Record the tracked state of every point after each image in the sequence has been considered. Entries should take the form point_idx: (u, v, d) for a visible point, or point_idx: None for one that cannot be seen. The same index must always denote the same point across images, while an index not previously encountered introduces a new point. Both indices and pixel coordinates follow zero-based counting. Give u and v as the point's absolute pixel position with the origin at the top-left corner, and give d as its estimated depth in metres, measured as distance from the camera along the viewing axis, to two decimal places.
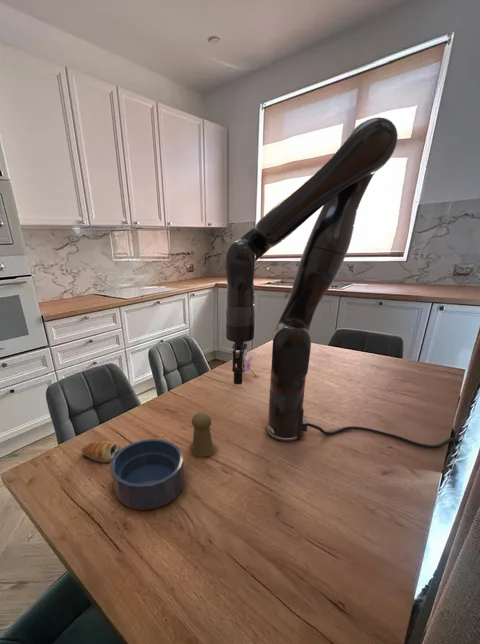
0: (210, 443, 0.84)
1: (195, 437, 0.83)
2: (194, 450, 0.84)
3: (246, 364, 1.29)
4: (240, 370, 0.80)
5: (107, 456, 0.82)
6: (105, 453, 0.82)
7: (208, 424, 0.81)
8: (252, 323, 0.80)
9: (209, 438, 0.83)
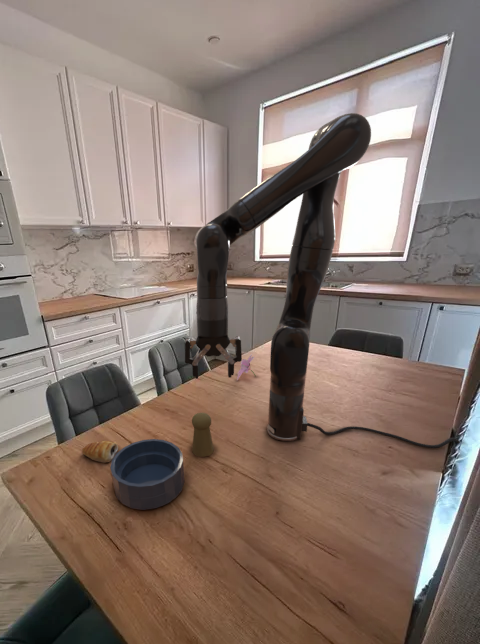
0: (210, 443, 0.84)
1: (195, 437, 0.83)
2: (194, 450, 0.84)
3: (246, 364, 1.29)
4: (185, 360, 0.78)
5: (107, 456, 0.82)
6: (105, 453, 0.82)
7: (208, 424, 0.81)
8: (205, 319, 0.72)
9: (209, 438, 0.83)
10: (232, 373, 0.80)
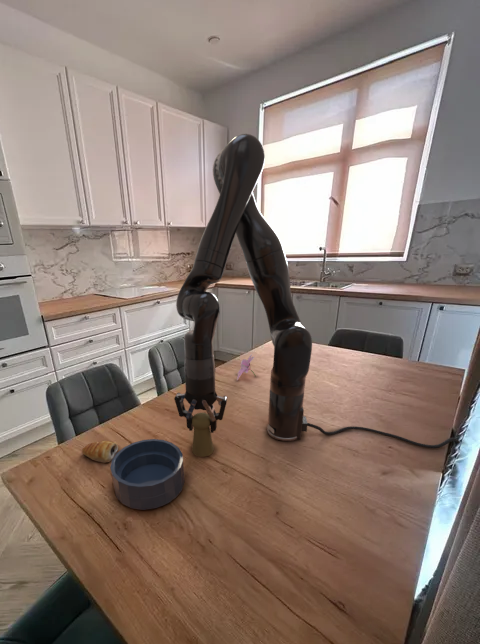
0: (210, 443, 0.84)
1: (195, 437, 0.83)
2: (194, 450, 0.84)
3: (246, 364, 1.29)
4: None
5: (107, 456, 0.82)
6: (105, 453, 0.82)
7: (208, 424, 0.81)
8: (189, 377, 0.75)
9: (209, 438, 0.83)
10: (214, 429, 0.82)
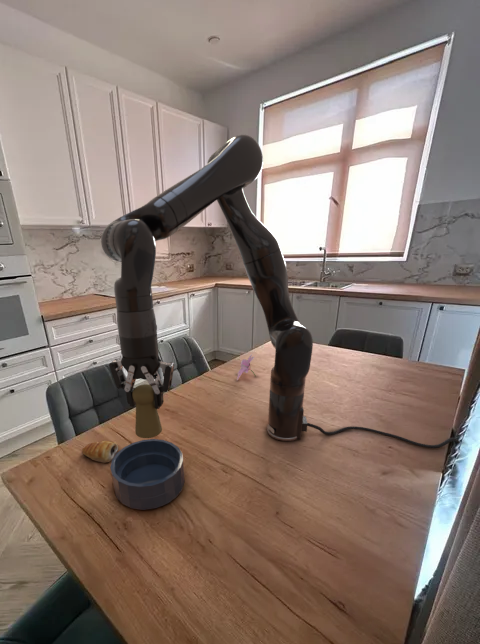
0: (156, 422, 0.68)
1: (137, 414, 0.67)
2: (137, 430, 0.69)
3: (246, 364, 1.29)
4: None
5: (107, 456, 0.82)
6: (105, 453, 0.82)
7: (151, 397, 0.65)
8: (122, 335, 0.59)
9: (154, 415, 0.67)
10: (159, 404, 0.66)
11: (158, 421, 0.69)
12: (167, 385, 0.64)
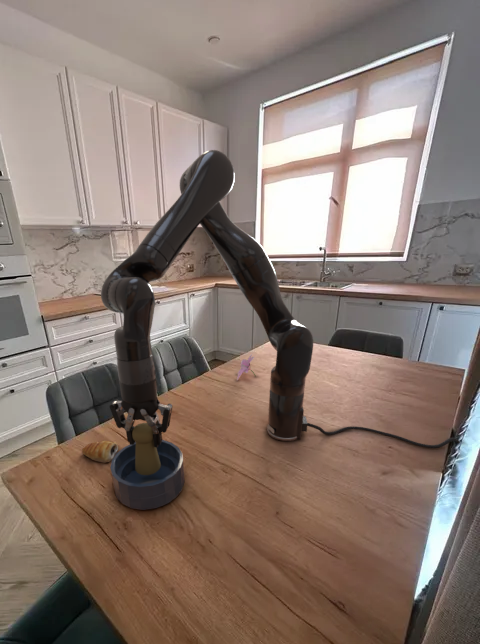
0: (155, 459, 0.71)
1: (136, 452, 0.70)
2: (136, 467, 0.71)
3: (246, 364, 1.29)
4: None
5: (107, 456, 0.82)
6: (105, 453, 0.82)
7: (150, 437, 0.68)
8: (122, 382, 0.62)
9: (153, 453, 0.70)
10: (158, 443, 0.69)
11: (157, 458, 0.71)
12: (165, 426, 0.66)
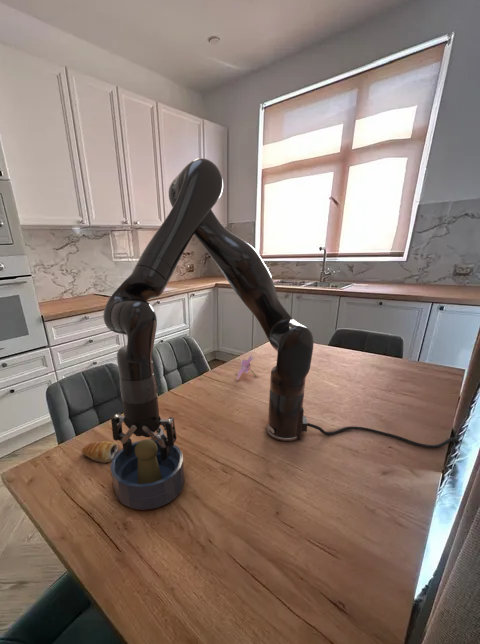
0: (157, 475, 0.72)
1: (139, 468, 0.72)
2: (139, 483, 0.73)
3: (246, 364, 1.29)
4: None
5: (107, 456, 0.82)
6: (105, 453, 0.82)
7: (152, 454, 0.70)
8: (124, 400, 0.63)
9: (155, 469, 0.72)
10: (165, 456, 0.70)
11: (159, 474, 0.73)
12: (171, 440, 0.67)
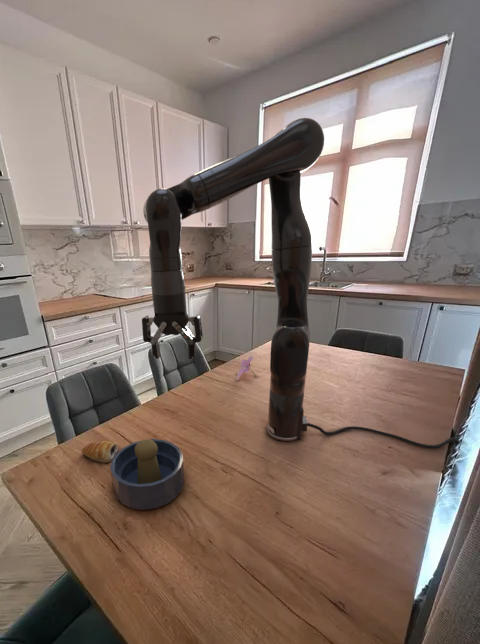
0: (157, 475, 0.72)
1: (139, 468, 0.72)
2: (139, 483, 0.73)
3: (246, 364, 1.29)
4: None
5: (107, 456, 0.82)
6: (105, 453, 0.82)
7: (152, 454, 0.70)
8: (156, 293, 0.68)
9: (155, 469, 0.72)
10: (193, 354, 0.75)
11: (159, 474, 0.73)
12: (199, 335, 0.72)
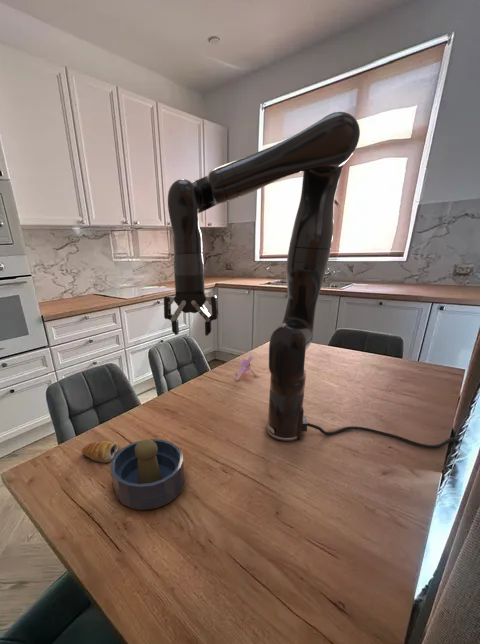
0: (157, 475, 0.72)
1: (139, 468, 0.72)
2: (139, 483, 0.73)
3: (246, 364, 1.29)
4: None
5: (107, 456, 0.82)
6: (105, 453, 0.82)
7: (152, 454, 0.70)
8: (178, 274, 0.76)
9: (155, 469, 0.72)
10: (209, 331, 0.82)
11: (159, 474, 0.73)
12: (215, 313, 0.80)
